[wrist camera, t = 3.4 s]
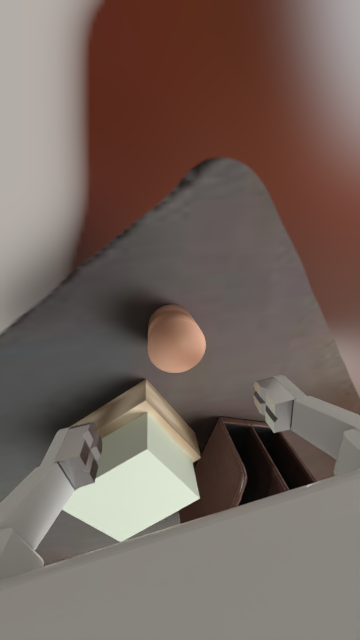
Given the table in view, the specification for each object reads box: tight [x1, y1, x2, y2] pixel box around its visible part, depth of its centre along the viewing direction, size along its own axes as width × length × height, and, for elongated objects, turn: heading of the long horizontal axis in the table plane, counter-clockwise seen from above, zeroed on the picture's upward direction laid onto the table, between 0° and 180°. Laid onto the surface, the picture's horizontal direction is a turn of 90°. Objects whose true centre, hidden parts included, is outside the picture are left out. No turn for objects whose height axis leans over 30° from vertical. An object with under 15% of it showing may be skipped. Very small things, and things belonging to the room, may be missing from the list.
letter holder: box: [179, 417, 317, 524], centre depth 24 cm, size 10×20×14 cm, turn 162°
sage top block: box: [62, 412, 200, 542], centre depth 20 cm, size 10×10×4 cm
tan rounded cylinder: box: [148, 304, 206, 373], centre depth 18 cm, size 5×5×5 cm
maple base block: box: [70, 379, 201, 463], centre depth 24 cm, size 12×12×4 cm
